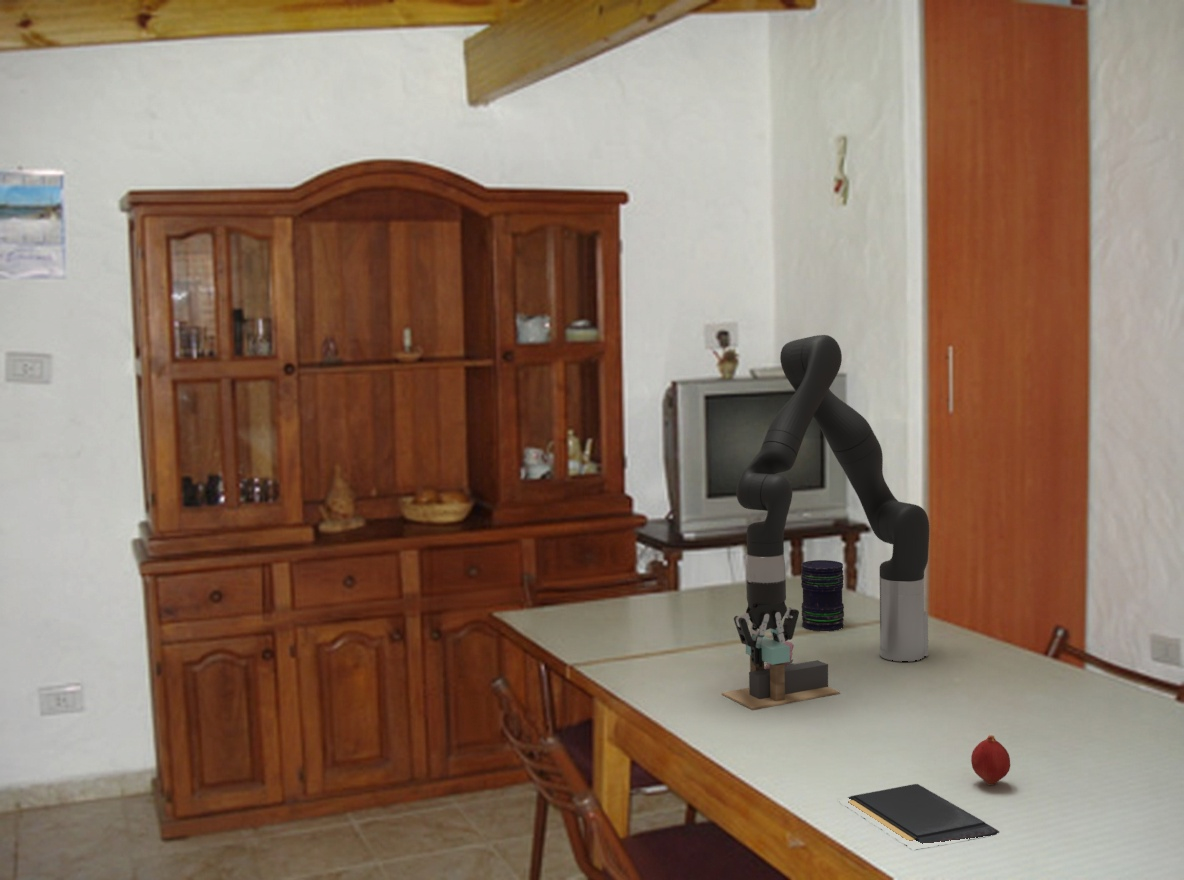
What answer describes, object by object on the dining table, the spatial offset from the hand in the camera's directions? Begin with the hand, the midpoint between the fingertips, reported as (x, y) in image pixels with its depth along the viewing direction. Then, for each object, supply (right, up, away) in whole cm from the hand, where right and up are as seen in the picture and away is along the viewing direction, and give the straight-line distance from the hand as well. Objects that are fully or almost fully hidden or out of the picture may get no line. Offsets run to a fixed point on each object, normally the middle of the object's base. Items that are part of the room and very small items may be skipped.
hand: (767, 663), depth 239 cm
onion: (+28, -10, -47) cm, 56 cm away
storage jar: (+21, -1, +53) cm, 57 cm away
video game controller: (+5, -5, +19) cm, 20 cm away
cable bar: (+5, -6, +3) cm, 8 cm away
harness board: (+3, -6, +2) cm, 7 cm away
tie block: (0, +1, 0) cm, 1 cm away
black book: (+13, -13, -58) cm, 61 cm away
